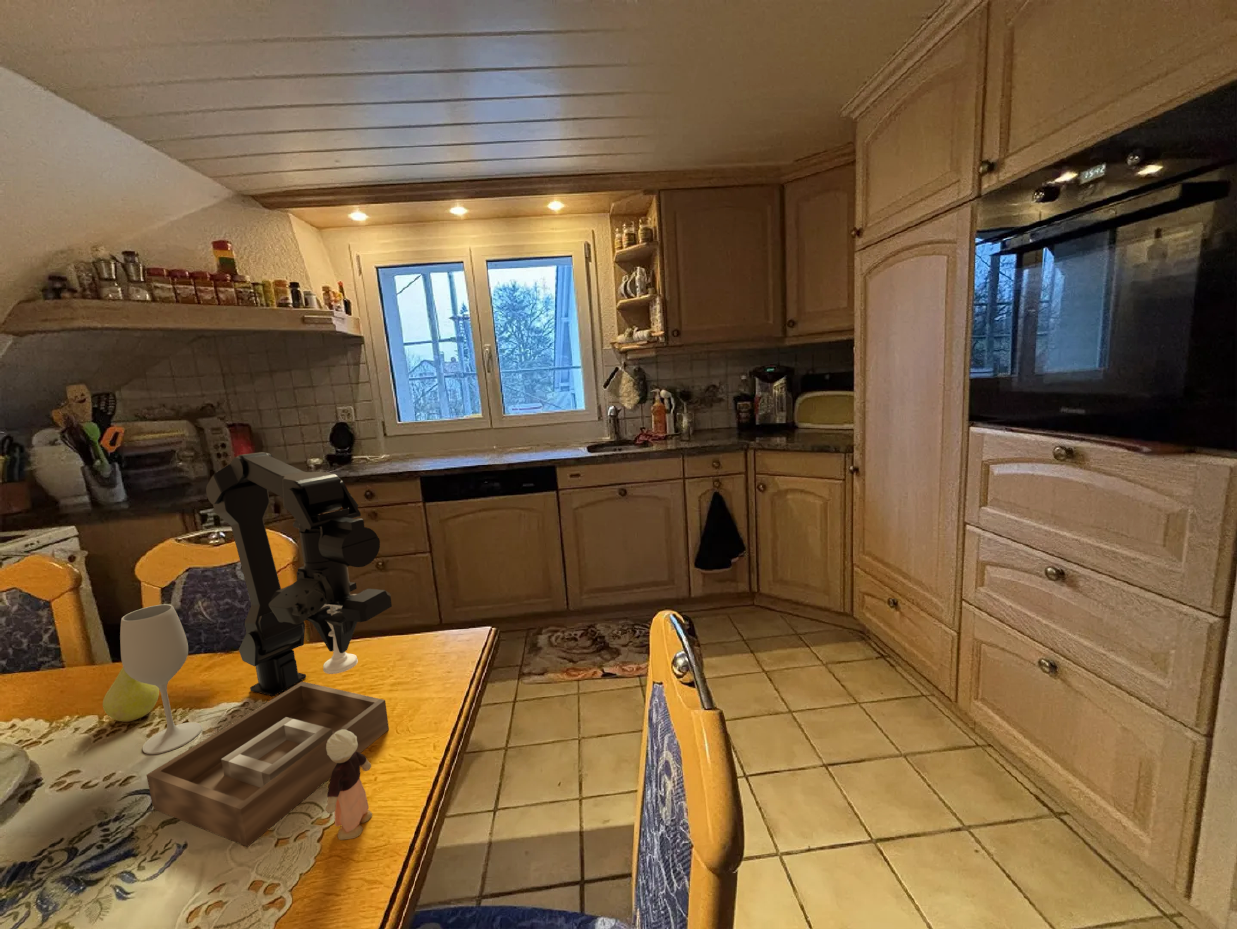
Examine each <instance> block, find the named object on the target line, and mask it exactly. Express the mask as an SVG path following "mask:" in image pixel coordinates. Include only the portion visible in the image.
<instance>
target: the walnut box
mask: <svg viewBox="0 0 1237 929" xmlns="http://www.w3.org/2000/svg"><path fill="white" fill-rule="evenodd" d="M387 711H388V710H387V704H386V699H383V698H378V697H373V696H369V695H365V694H361V693H355V692H352V691H346V690H343V689H338V688H333V687H330V686H329V687H328V686H325V685H319V684H316V683H311V682H305V681H299V682H298V683H296V684H294V685H293V686H291V687H289V688H288V689H286V690H284V692H281V693H279V695H276V696H274V698H272V699H270V700H268V701H266V702H265V703H264V704H262V705H260V706H258V707H256V708H255V709H254V710H252V711H249V713H247V714H246V715H243V716H242V717H241V718H239V719H237V720H235V721H234V722H231V723H230V724H228V725H227V726H225V727H224V728H222V729H220V730H219V731H217V732H216V733H215V732H214V733H213V734H212V735H210V736H208V737H207V738H206V739H204V740H201V741H200V742H198V743H197V744H195V745H194V746H191V747H190V748H189V749H187V750H185V751H183V752H182V753H180V754H179V755H177V756H175V757H173V758H171V760H169V761H167V762H165V763H164V764H162V765H160V766H159V767H157V768H155V769H154V770H152V771H150V772H149V773H147V774H146V780H147V784H148V789H149V794H150V799H151V803H152V808H153V810H155V811H158V812H159V813H162V814H165V815H167V816H170V817H173V818H174V819H177V820H180V821H183V822H184V823H187V824H190V825H191V826H195V827H197V828H200V829H202V830H205V831H207V832H209V833H212V834H215V835H217V836H220V837H222V838H225V839H226V840H230V841H232V842H234V843H236V844H239V845H241V846H244V847H247V848H248V847H249V846H250V845H251V844H253V843H255V841H256V840H258V839H259V838H260V837H261V836H263V834H265V833H266V832H267V831H269V830H270V829H271V828H272V827H273V826H275V824H277V823H278V822H279V821H280V820H282V819H283V818H284V817H285V816H286V815H287V814H289V813H290V812H291V811H292V810H294V809H295V808H296V807H297V806H299V805H300V804H301V803H302V802H303V801H305V800H306V799H307V798H308V797H309V796H311V795H312V794H313V793H314V792H316V791H317V790H318V789H319V788H320V787H322V786H323V785H324V784H325V783H326V782H327V781H329V779H331V774H332V771H333V769H334V768H335V766H336V764H337V763H335V762H333V761H332V760H331V758H330V757H329V755H327V750H326V744H327V741H328V740H329V738H330V737H331V736H332V735H333V734H334V733H335V732H337V731H339V730H342V729H344V730H348V731H350V732H352V733H353V734H354V735H355V736H356V737H357V743H358V747H357V749H356V752H359V753H361V754H362V752H363V751H364V750H366V749H367V748H368V747H369V746H371V745H372V744H373V743H374V742H376V741H377V740H379V738H380V737H382V735H384V734H385V733H386V732H387V731H389V730H390V726H389V720H388V712H387Z"/></svg>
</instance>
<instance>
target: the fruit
mask: <svg viewBox="0 0 1237 929" xmlns="http://www.w3.org/2000/svg"><path fill="white" fill-rule="evenodd" d="M159 697H160V690H159V688H158V687H157V686H155V685H150V684H146V683H142V682H139V681H137V680H135V679H133V678H131V677H130V676H129V675H128V674H127V673H126V672H125V670H124V667H123V666H122V668H121V670H120V671H119V673H118V675H117V676H116V678H115V679H114V681H113V683H112V684H111V686H110V688H109V689H108V690H107V692H106V694H105V695H104V697H103V699H102V700H103V701H102V708H103V711H104V712H105V714H106V715H107V716H108V717H109V718H110V719H113V720H114V721H115V720H116V721H118V722H133V721H136V720H140V719H141V718H143V717H144V716H146V715H148V714H149V713H150V712H151V711H152V710H153V708H154V707H155V706H156V704H157V702H158V699H159Z"/></svg>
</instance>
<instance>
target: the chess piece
mask: <svg viewBox="0 0 1237 929" xmlns="http://www.w3.org/2000/svg"><path fill="white" fill-rule="evenodd" d="M334 611H335V607H332V606H331V607H330V609H329V610H327V613H331V616H332V615H334V614H335V613H334ZM327 623H328V622H327ZM328 624H329V626H330V628H331V629H332V631H330V632H329V634H328V635H329V636H331V637H333V651H332V652H333V654H332V656H331V658H329V659H328V660H326V661H325V662H324V663H323V666H322V667H323V668H322V669H323V671H322V672H324V673H325V674H328V675H334V674H335V675H336V674H340V673H344V672H347V671H349V670H351V669H352V668H354V667H356V665H357V664H358V662H359V660H358V657H357V655H356V654H353V653H348V652H347V651H345V652H344V653H340V652H339V649H338V646H337V642H336V637H335V633H334V628H333V625H332V624H330V623H328Z"/></svg>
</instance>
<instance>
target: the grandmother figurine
mask: <svg viewBox="0 0 1237 929" xmlns="http://www.w3.org/2000/svg"><path fill="white" fill-rule="evenodd" d="M357 747H358V743H357V737H356V736H355V735H354V734H353V733H352V732H350V731H348V730H344V729H342V730H339V731H337V732H335V733H334V734H333V735H332V736H331V737H330V738H329V740H328V741H327V744H326V750H327V755H329V757H330V758H331V760H332V761H333V762H335V763H337V764H336V766H335V768H334V769H333V771H332V774H331V778H330V780H329V785H328V789H327V793H326V794H327V795H326V796H327V798H326V799H327V800H326V804H327V805H326V807H325V812H326V813H327V814H333V813H334V826H335V827H337V828H338V827H340V829H339V830H338V833H337V839H338V840H340V841H344V840H349V839H355V838H358V836H361V834H362V832H363V830H364V828H363V826H362V825H360V824H363V823H366V822H368V821H369V820H371V818H372V817H373V813H372V811H370V810H369V803H368V798H367V792H366V789H365V788H364V785H363V783H362V781H361V778H360V777H361V769H362V771H365V772H367V771H370V770H371V768H372V763H371V762H369V759H367V756H366V755H365V754H363V753H362V752H361V753H359V752H356V749H357Z"/></svg>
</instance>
